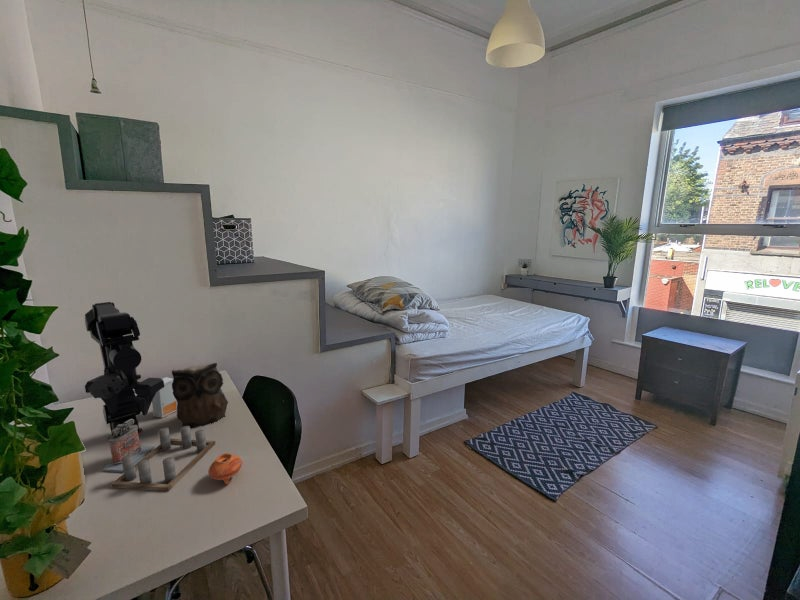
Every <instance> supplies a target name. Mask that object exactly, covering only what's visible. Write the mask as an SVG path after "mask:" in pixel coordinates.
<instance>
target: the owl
mask: <svg viewBox="0 0 800 600" xmlns="http://www.w3.org/2000/svg"><path fill="white" fill-rule="evenodd" d="M217 366H218V363H217V362H212V363H207V364H206V363H205V364H199V365H193V366H188V367H185V368H181V369H177V370H176V369H172V370H171V375H172V379H173V382H172V389H173V395H174V397H175V399H176V400H177V411H176V418H177V420H179V421H180V422H181V424H182V425H181V428H182V427H184V426H190V430H191V429H196V428H199V427H205V426H207V425H213V424H215V423H218V422H219V421H220V420H222V419H224V418H226V412H227V406H228V404H229V401H228V399H227V397H226V396H225V393H224V392H223V390H222V386H223V385H224V379H223V376H222V374H221V373H220V371H219V369H218V368H217ZM223 417H224V418H223ZM221 418H222V419H221ZM218 420H219V421H218ZM214 422H215V423H214ZM210 423H211V424H210ZM212 423H213V424H212Z"/></svg>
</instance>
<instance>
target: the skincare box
mask: <svg viewBox="0 0 800 600" xmlns="http://www.w3.org/2000/svg"><path fill="white" fill-rule="evenodd" d="M162 379H163V381H164V388H162V389H160V390H159V391H157V392H156V394H155V396H154V398H153V400H152V402H151V404H152V412H153V417H157V418H161V419H162V418H164V417H167V416H169V415H172V414H173V413H175V412H177V405H178V403H177V400H176V399H175V397H174V395H173V389H172V382H173V377H172V378H171V377H167V376H166V377H163V378H162Z"/></svg>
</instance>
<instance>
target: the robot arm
mask: <svg viewBox="0 0 800 600" xmlns="http://www.w3.org/2000/svg"><path fill="white" fill-rule="evenodd" d="M84 323H85V330H86V332H89V334H90V338H91V339H92V340H94V341H95V342H96V343H97V344H98V345H99V350H100V354H101V359H102V362H103V368H104V369H103V374H102V375H99V376H97V377H95V378H93V379H91V380H88V381H86V384H85V385H84V390H85V393H87V394H90V395H91V396H92V397H93V398H94V399H101V400H102V401H103V403H104V404H103V405H102V406H103V407H102V413H103V419H104V421H105V424H106V425H109V427H110V433H111V435H110V436H108V437H107V440H108V439H109V438H110V437H112V436H113V434H112V430H113V429H115V428H116V427H117V425H119V424H123V423H124V422H126V421H128V420H129V419H134V423H133V424H132V425H138V429H137V430H138V434H139V433H140V432H142V431H143V428H142V427H139V426H140V425H139V420H138V419H137V416H139V415H141V414H142V416H146V415H147V414H148V413H149V410H150V407H151V404H152V400H153V398H154V396H155V394H156V392H157V391H159V390H160V389H162V388H164V381H163V378H161V377H147V378H146V379H144V380H142V381H139V380H141V378H142V376H141V374H137V373H138V372H137V368H138V366H140V364H141V363H142V355H141V353H140V352H139V351H138V349H137V348H136V347H135V346H134V344H133V342H136V341H140V337H139V336H140V335H141V332H140V328H139V325H138V323H137V320H135V318H134V317H133V316H131V315H130V313H127V312H120V310H119V309H118V308H117V307H115V303H114V302H113V301H106V302H97V303H94V304H92V305H91V309H90V310H88V311H87V312H86V313H85V314H84ZM130 426H131V425H130Z"/></svg>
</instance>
